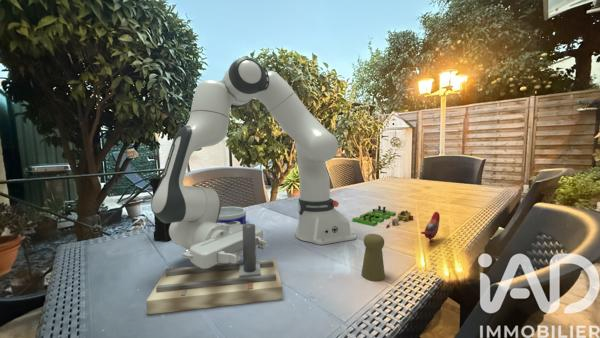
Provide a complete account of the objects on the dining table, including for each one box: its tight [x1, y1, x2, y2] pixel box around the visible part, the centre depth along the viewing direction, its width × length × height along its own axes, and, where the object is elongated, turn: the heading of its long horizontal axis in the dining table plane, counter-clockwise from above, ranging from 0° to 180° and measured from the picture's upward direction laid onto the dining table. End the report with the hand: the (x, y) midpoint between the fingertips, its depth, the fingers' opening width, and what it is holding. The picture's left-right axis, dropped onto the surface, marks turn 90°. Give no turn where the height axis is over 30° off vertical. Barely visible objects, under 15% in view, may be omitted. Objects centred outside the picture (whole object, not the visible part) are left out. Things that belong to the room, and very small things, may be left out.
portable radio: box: [149, 175, 172, 242], centre depth 97 cm, size 8×6×25 cm
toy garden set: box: [351, 205, 414, 229], centre depth 121 cm, size 23×19×5 cm
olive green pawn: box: [360, 233, 386, 282], centre depth 71 cm, size 6×6×11 cm
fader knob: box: [239, 223, 261, 278], centre depth 65 cm, size 5×5×12 cm
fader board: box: [145, 259, 283, 315], centre depth 65 cm, size 28×14×4 cm, turn 101°
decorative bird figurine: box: [420, 211, 441, 244], centre depth 93 cm, size 3×18×10 cm, turn 137°
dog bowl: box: [217, 206, 247, 225], centre depth 115 cm, size 15×15×6 cm
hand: (252, 251), depth 65 cm, fingers open, 8 cm apart
